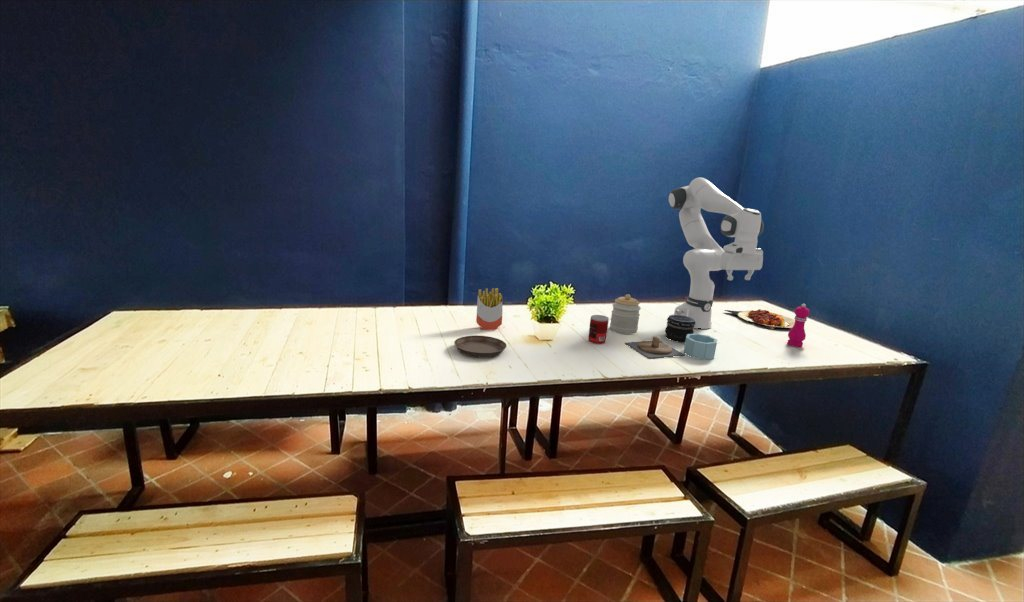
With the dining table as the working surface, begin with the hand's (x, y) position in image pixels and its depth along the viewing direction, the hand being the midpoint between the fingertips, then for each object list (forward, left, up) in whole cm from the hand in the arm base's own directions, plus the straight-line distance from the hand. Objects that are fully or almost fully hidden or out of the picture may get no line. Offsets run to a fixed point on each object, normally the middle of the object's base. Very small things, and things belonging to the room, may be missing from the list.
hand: (738, 280), depth 222 cm
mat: (-4, -35, -31) cm, 47 cm away
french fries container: (-42, -97, -31) cm, 110 cm away
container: (-15, -14, -31) cm, 38 cm away
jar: (-30, -34, -31) cm, 55 cm away
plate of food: (-32, +55, -32) cm, 71 cm away
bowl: (+4, -18, -31) cm, 36 cm away
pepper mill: (+2, +39, -31) cm, 50 cm away
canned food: (-18, -55, -31) cm, 66 cm away
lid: (-4, -35, -30) cm, 47 cm away
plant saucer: (-16, -109, -32) cm, 115 cm away
